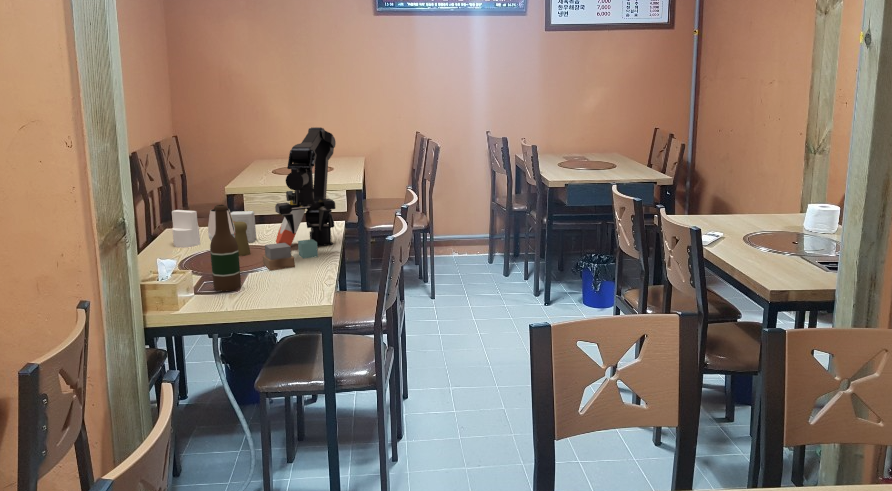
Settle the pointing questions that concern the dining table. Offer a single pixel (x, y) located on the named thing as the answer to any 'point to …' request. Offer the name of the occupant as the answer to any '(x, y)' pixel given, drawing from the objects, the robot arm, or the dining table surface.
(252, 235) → the small box
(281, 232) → the french fries container
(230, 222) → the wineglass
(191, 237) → the white stepped block
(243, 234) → the cork
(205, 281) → the dining table surface
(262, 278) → the dining table surface
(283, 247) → the charcoal block
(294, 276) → the dining table surface
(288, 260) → the walnut slab
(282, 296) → the dining table surface
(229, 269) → the beer bottle
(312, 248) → the teal cube
